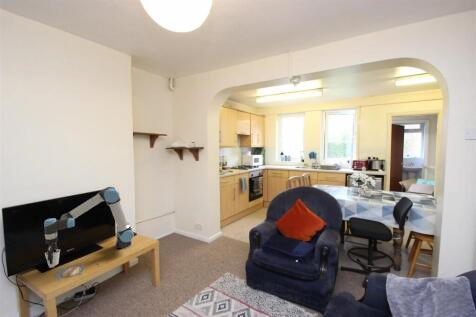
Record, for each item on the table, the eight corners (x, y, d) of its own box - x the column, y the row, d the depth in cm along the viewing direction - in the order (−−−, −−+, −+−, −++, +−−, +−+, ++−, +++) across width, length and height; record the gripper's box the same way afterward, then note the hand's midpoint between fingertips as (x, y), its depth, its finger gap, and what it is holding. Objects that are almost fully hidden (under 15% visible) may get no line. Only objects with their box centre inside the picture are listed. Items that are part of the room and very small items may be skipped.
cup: (48, 269, 177) (47, 256, 176) (43, 265, 183) (42, 252, 182) (63, 263, 186) (62, 251, 185) (58, 260, 191) (57, 247, 190)
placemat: (85, 264, 192) (85, 264, 192) (81, 275, 178) (81, 274, 178) (59, 269, 184) (59, 269, 184) (53, 280, 170) (53, 280, 170)
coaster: (82, 266, 189) (82, 265, 189) (79, 274, 177) (79, 273, 177) (64, 269, 184) (63, 269, 184) (59, 278, 172) (59, 277, 172)
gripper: (50, 233, 190) (52, 259, 192) (40, 244, 171) (43, 272, 173) (61, 232, 193) (62, 257, 195) (53, 242, 174) (55, 270, 176)
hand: (53, 264), depth 184 cm, fingers closed on cup, 8 cm apart
